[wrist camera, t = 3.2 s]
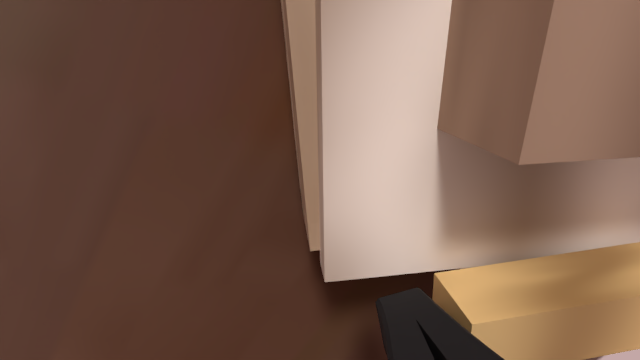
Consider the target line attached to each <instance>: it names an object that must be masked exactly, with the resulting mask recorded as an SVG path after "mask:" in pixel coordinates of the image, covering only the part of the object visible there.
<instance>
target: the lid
mask: <svg viewBox="0 0 640 360" xmlns="http://www.w3.org/2000/svg"><path fill="white" fill-rule="evenodd" d="M315 23H316V75H317V127H318V179H319V231H320V264H321V269H322V273H323V277H324V282H333V281H343V280H353V279H362V278H372V277H382V276H391V275H401V274H411V273H420V272H430V271H440V270H449V269H459V268H460V269H465V268H472V267H479V266H485V265H492V264H498V263H505V262H512V261H518V260H525V259H531V258H538V257H544V256H551V255H558V254H564V253H571V252H577V251H584V250H590V249H597V248H604V247H610V246H617V245H623V244H630V243H637V242H640V0H315Z"/></svg>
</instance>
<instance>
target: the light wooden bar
mask: <svg viewBox="0 0 640 360" xmlns="http://www.w3.org/2000/svg"><path fill="white" fill-rule="evenodd" d="M432 300H433V301H434V302H435V303H436V304H437V305H438V306H440V307H441V308H442V309H443V310H444V311H445V312H446V313H448V314H449V315H450V316H451V317H452V318H453V319H454V320H456V321H457V322H458V323H459V324H460V325H462V326H463V327H464V328H465V329H466V330H468V331H469V332H470V333H471V334H473V335H474V336H475V337H476V338H478V339H479V340H480V341H481V342H483V343H484V344H485V345H486V346H488V347H489V348H490V349H491V350H493V351H494V352H495V353H497V354H498V355H499V356H501V357H502V358H503V359H505V360H583V359H588V358H594V357H599V356H604V355H609V354H615V353H620V352H625V351H631V350H636V349H640V242H637V243H630V244H623V245H617V246H610V247H604V248H597V249H590V250H584V251H577V252H571V253H564V254H558V255H551V256H544V257H538V258H531V259H525V260H518V261H512V262H505V263H498V264H492V265H485V266H479V267H472V268H465V269H459V270H452V271H446V272H439V273H434V283H433V297H432Z"/></svg>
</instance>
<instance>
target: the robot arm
mask: <svg viewBox="0 0 640 360" xmlns="http://www.w3.org/2000/svg"><path fill="white" fill-rule="evenodd" d="M376 307H377V313H378V318H379V323H380V328H381V333H382V338H383V343H384V348H385V351H386V354H387V357H388V360H505V359H503V358H502V357H501V356H499V355H498V354H497V353H495V352H494V351H493V350H491V349H490V348H489V347H488V346H486V345H485V344H484V343H483V342H481V341H480V340H479V339H478V338H476V337H475V336H474V335H473V334H471V333H470V332H469V331H468V330H466V329H465V328H464V327H463V326H462V325H460V324H459V323H458V322H457V321H456V320H454V319H453V318H452V317H451V316H450V315H449V314H448V313H446V312H445V311H444V310H443V309H442V308H441V307H440V306H438V305H437V304H436V303H435V302H434V301H433V300H432V299H431V298H430V297H429V296H428V295H427V294H425V293H424V292H423V291H422V290H421V289H419V288H418V287H417V288H414V289H410V290H406V291H403V292H399V293H396V294H392V295H388V296H385V297H381V298H378V300H377V301H376Z"/></svg>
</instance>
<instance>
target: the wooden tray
mask: <svg viewBox="0 0 640 360" xmlns="http://www.w3.org/2000/svg"><path fill="white" fill-rule="evenodd" d="M281 7H282V17H283V27H284V36H285V46H286V56H287V66H288V75H289V85H290V95H291V105H292V114H293V124H294V134H295V144H296V153H297V163H298V173H299V182H300V192H301V202H302V211H303V216H304V221H305V227H306V232H307V237H308V242H309V247H310V251H316V250H320V231H319V179H318V127H317V75H316V23H315V0H281Z"/></svg>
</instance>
